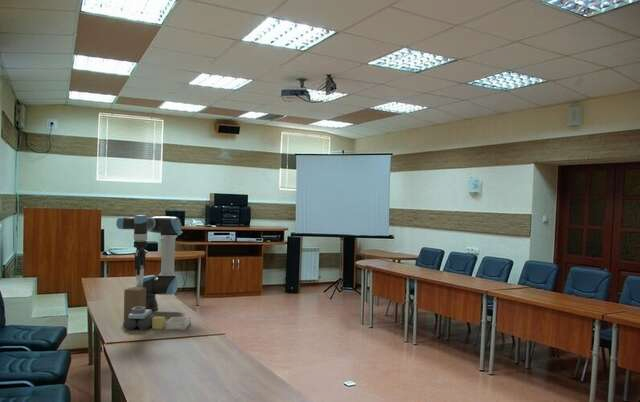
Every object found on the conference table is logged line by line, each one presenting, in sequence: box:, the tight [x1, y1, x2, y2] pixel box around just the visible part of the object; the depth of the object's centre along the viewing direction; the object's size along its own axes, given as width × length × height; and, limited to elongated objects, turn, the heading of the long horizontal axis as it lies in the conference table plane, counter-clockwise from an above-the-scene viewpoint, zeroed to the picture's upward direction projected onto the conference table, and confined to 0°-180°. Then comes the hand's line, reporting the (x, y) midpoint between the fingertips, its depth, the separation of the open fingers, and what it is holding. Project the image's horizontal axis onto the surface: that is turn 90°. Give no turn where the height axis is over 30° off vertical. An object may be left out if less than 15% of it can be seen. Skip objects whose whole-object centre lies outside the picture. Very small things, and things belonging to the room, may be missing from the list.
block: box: [123, 286, 146, 322], centre depth 301 cm, size 10×10×20 cm
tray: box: [164, 316, 191, 331], centre depth 288 cm, size 15×12×4 cm
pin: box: [135, 265, 143, 287], centre depth 285 cm, size 4×4×13 cm
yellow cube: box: [151, 316, 166, 330], centre depth 285 cm, size 5×6×6 cm
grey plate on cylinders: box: [123, 307, 156, 331], centre depth 285 cm, size 14×15×12 cm
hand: (139, 279), depth 285 cm, fingers closed on pin, 3 cm apart
